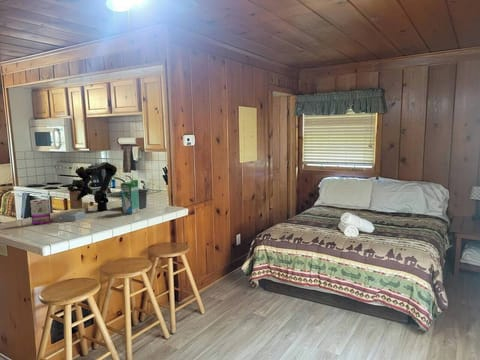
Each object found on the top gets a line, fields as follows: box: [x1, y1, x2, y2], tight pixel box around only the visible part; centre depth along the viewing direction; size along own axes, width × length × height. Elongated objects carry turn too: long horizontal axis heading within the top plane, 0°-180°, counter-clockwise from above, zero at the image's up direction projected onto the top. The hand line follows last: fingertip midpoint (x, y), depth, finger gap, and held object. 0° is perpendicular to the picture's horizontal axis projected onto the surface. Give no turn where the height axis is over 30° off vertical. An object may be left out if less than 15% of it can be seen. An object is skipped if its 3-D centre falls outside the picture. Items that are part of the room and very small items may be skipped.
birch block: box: [77, 201, 89, 214], centre depth 273 cm, size 5×5×8 cm
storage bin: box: [119, 188, 149, 210], centre depth 290 cm, size 21×16×14 cm
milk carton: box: [120, 179, 140, 215], centre depth 269 cm, size 9×9×25 cm
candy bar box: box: [29, 198, 52, 226], centre depth 240 cm, size 11×5×16 cm, turn 117°
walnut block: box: [69, 191, 83, 210], centre depth 254 cm, size 6×6×12 cm
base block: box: [60, 211, 87, 222], centre depth 252 cm, size 11×11×4 cm
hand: (74, 199), depth 252 cm, fingers closed on walnut block, 5 cm apart
